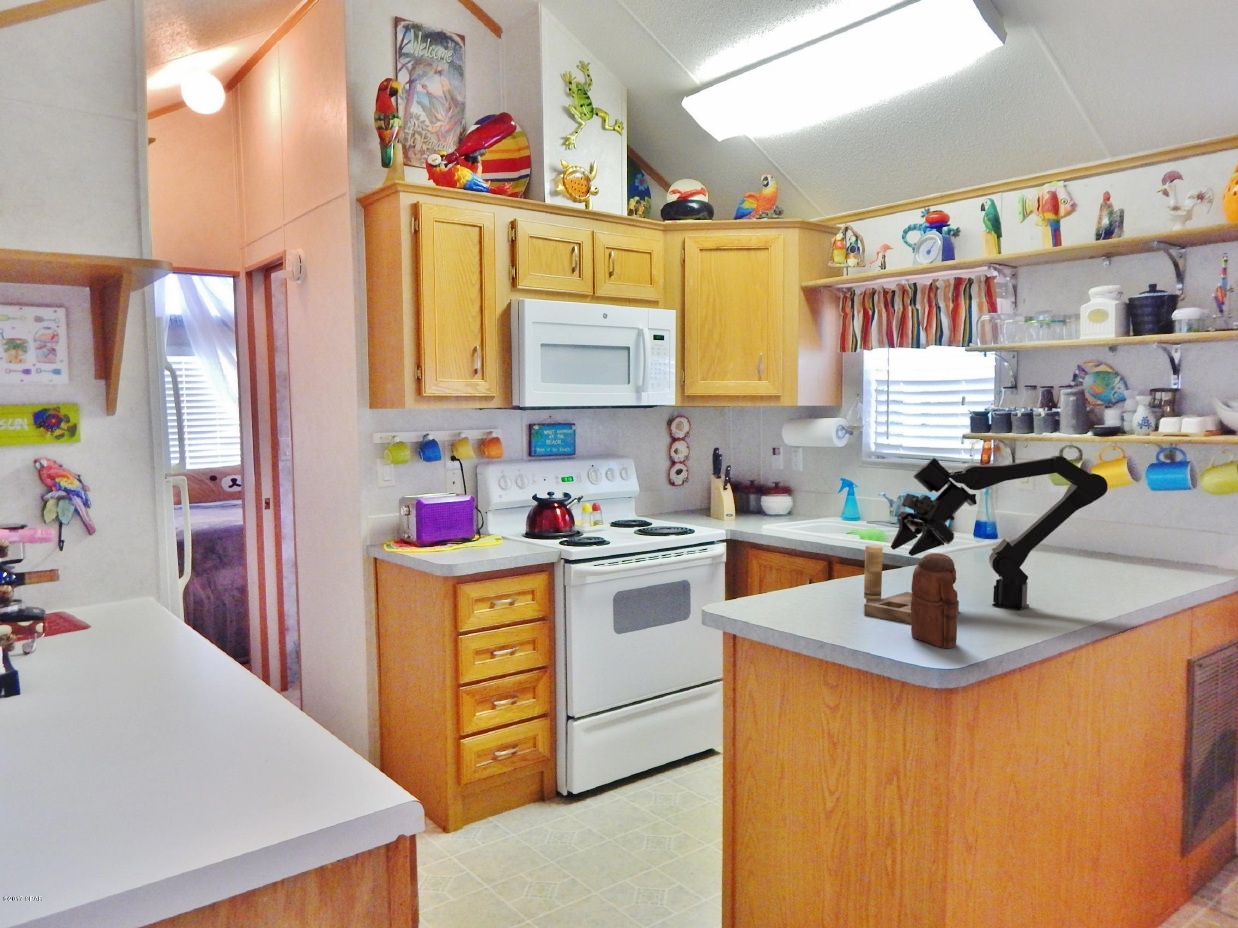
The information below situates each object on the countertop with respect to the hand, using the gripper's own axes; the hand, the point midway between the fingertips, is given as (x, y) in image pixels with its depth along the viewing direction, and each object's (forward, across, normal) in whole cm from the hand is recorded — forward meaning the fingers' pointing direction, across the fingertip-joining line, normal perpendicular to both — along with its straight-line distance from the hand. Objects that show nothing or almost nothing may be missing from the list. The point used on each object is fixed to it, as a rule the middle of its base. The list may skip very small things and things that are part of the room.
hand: (900, 551), depth 208 cm
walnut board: (+10, +9, +8) cm, 16 cm away
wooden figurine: (+15, +33, +3) cm, 37 cm away
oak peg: (+14, 0, +4) cm, 15 cm away
